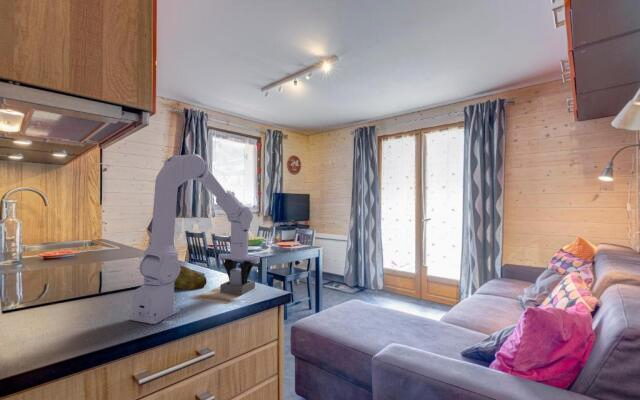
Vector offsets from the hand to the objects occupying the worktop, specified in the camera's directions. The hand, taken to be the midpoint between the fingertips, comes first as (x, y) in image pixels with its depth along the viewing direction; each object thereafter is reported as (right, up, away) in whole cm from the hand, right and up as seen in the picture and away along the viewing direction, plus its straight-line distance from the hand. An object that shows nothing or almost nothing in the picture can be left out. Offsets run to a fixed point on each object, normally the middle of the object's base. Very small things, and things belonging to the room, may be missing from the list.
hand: (238, 283), depth 107 cm
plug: (0, -2, 0) cm, 2 cm away
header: (0, -3, 0) cm, 3 cm away
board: (-3, -3, -3) cm, 5 cm away
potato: (-18, -3, +1) cm, 19 cm away
